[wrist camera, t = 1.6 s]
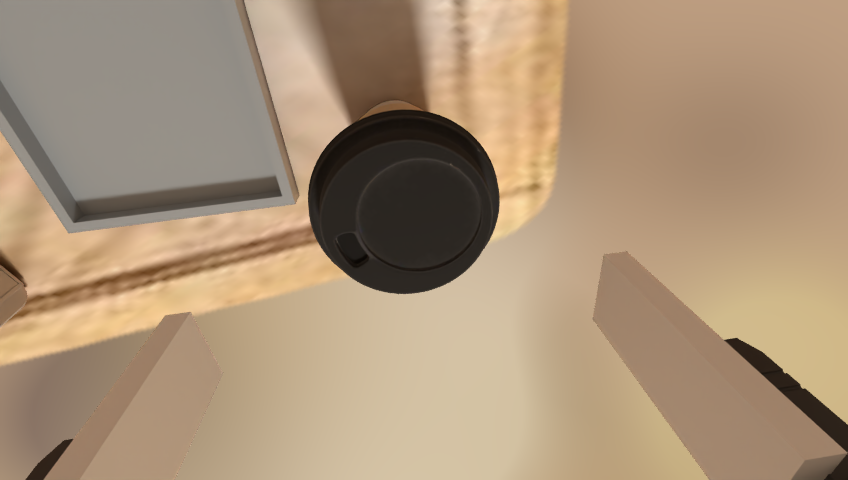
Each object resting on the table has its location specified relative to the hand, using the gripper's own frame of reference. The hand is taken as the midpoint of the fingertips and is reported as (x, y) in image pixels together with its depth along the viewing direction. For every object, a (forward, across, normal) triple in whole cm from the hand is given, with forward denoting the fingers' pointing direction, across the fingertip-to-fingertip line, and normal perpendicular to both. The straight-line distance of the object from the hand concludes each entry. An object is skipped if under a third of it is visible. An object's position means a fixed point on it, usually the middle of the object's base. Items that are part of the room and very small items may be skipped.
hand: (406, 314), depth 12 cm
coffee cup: (+21, 0, 0) cm, 21 cm away
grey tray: (+21, -17, +6) cm, 27 cm away
